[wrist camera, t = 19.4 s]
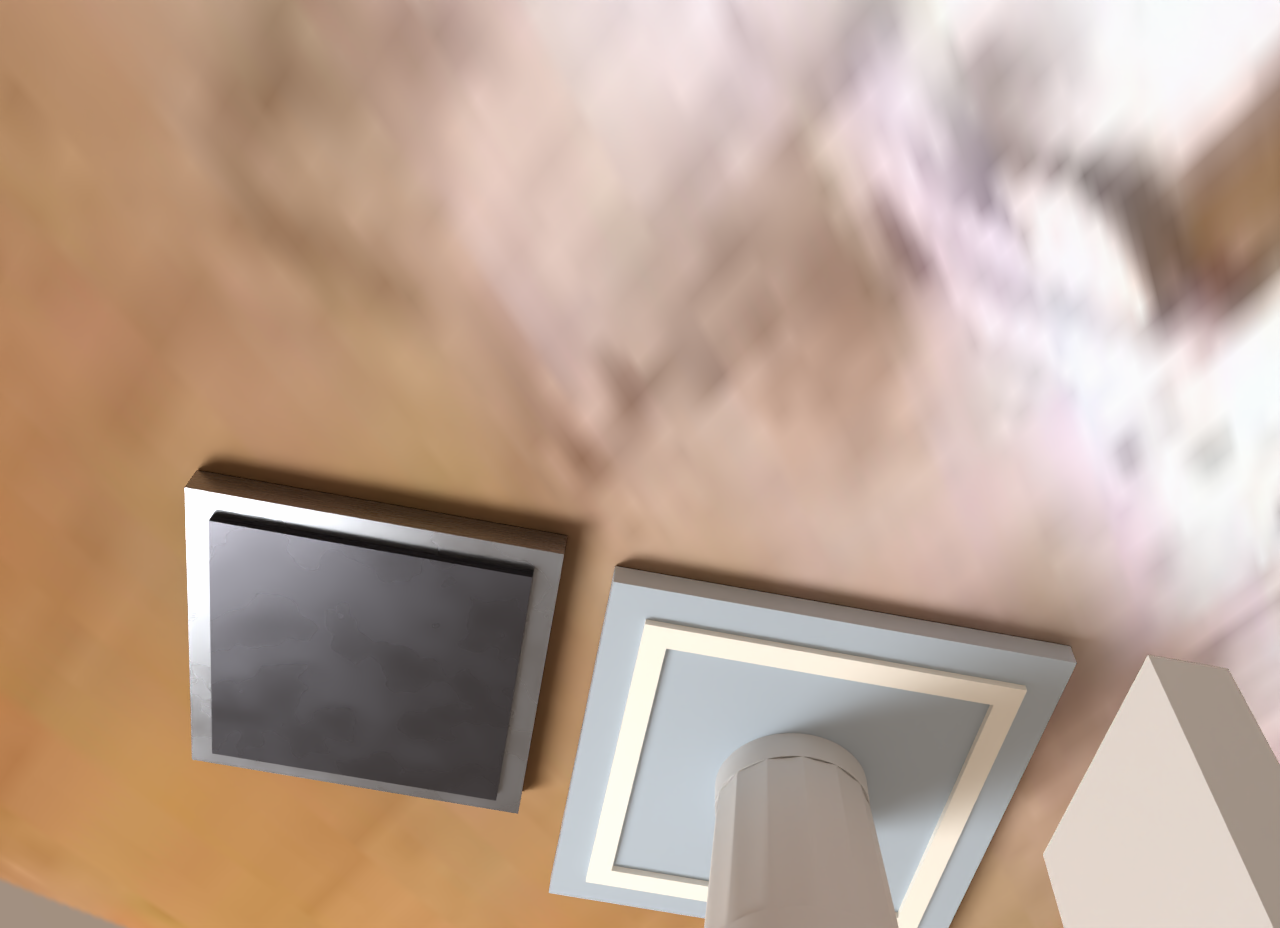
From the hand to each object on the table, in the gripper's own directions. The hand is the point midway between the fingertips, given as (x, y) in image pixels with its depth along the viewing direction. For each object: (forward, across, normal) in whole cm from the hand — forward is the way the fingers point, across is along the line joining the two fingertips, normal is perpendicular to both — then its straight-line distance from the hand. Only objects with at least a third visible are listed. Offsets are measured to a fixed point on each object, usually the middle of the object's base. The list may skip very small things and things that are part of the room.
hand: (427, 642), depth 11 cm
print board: (+29, +12, -29) cm, 42 cm away
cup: (+28, +12, -29) cm, 42 cm away
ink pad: (+29, -6, -26) cm, 39 cm away
